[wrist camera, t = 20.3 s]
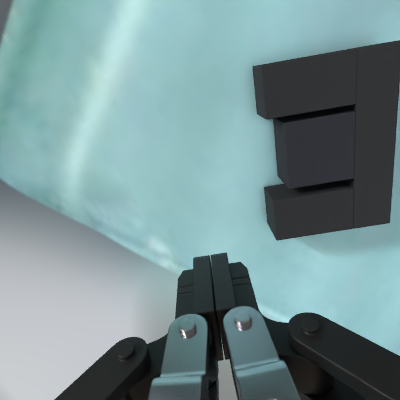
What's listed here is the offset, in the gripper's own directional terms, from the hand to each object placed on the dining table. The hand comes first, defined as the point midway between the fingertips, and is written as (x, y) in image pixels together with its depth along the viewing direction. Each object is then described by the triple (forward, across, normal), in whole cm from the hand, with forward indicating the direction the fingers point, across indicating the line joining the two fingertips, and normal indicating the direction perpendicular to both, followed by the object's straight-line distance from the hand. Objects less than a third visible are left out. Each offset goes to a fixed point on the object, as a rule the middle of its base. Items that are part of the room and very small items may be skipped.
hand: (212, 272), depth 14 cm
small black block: (+19, -10, 0) cm, 22 cm away
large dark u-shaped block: (+19, -12, 0) cm, 22 cm away
